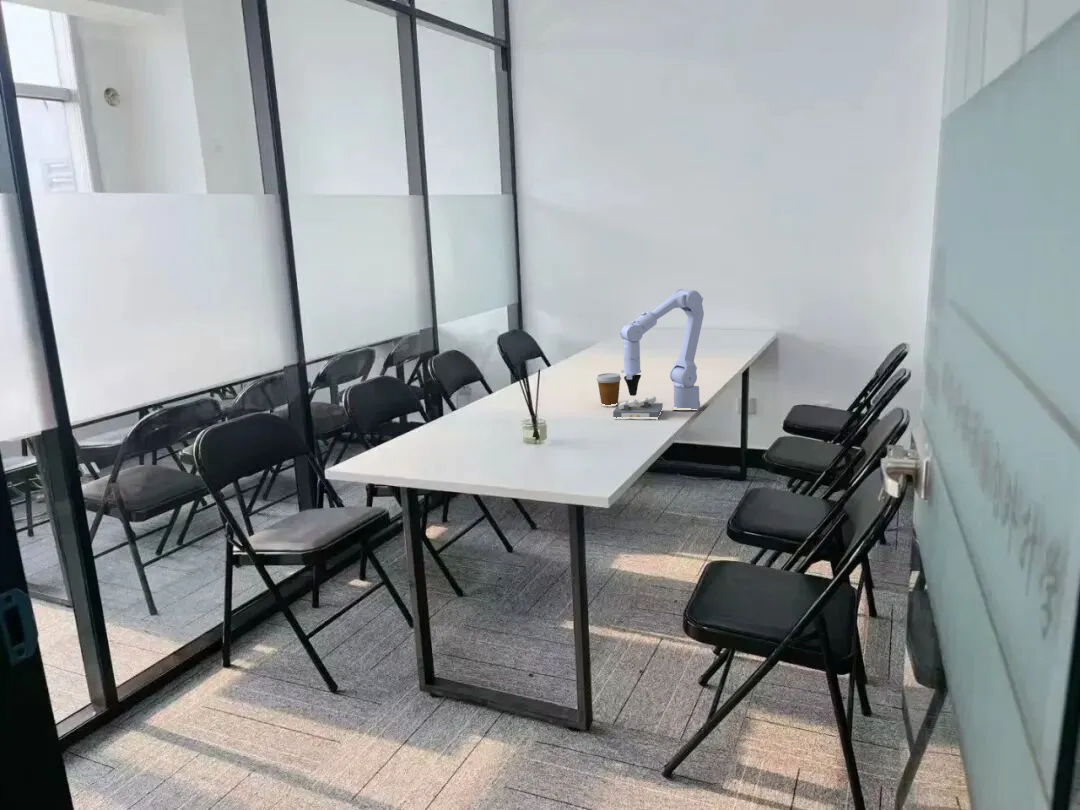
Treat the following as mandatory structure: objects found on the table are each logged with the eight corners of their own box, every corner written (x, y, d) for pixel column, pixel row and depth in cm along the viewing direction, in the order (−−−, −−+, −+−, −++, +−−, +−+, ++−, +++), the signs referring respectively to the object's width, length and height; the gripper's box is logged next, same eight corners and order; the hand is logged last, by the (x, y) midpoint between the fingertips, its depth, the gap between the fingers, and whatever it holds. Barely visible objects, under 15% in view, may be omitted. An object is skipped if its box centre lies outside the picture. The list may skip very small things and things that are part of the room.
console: (662, 410, 293) (662, 397, 292) (657, 420, 280) (657, 406, 279) (620, 410, 297) (619, 397, 296) (613, 419, 284) (612, 406, 283)
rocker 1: (636, 402, 287) (635, 398, 287) (635, 405, 284) (633, 401, 283) (621, 406, 289) (619, 402, 289) (619, 409, 286) (617, 405, 285)
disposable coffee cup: (595, 408, 304) (593, 377, 301) (600, 402, 312) (599, 372, 310) (619, 408, 301) (618, 377, 298) (624, 402, 309) (623, 372, 307)
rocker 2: (656, 399, 290) (655, 395, 290) (654, 402, 286) (653, 398, 286) (640, 404, 292) (639, 399, 292) (639, 406, 288) (637, 402, 288)
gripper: (624, 354, 290) (625, 390, 293) (617, 361, 276) (618, 399, 279) (643, 354, 288) (644, 391, 291) (637, 361, 274) (638, 399, 277)
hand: (633, 395), depth 285 cm, fingers closed
